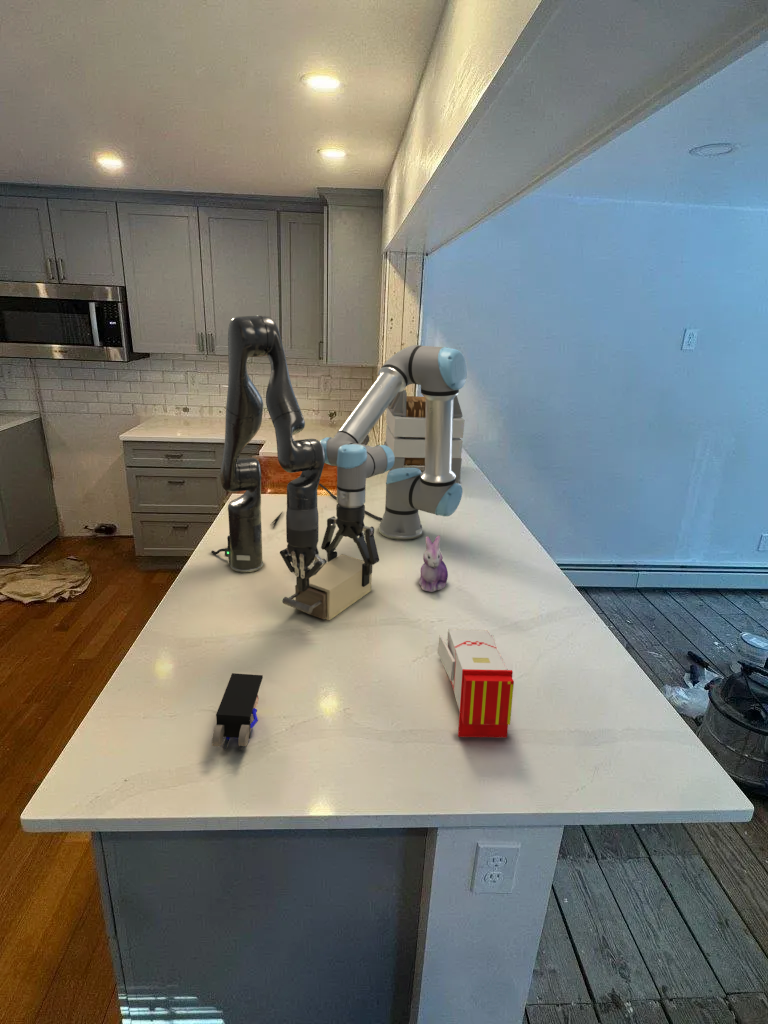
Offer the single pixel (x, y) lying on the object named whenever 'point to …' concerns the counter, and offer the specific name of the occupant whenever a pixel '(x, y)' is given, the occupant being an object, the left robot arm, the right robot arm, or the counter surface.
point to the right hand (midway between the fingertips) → (348, 579)
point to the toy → (478, 682)
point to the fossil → (365, 440)
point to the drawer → (309, 601)
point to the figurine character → (237, 710)
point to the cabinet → (340, 583)
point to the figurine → (433, 567)
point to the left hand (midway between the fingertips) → (303, 589)
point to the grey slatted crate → (417, 432)
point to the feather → (276, 520)
